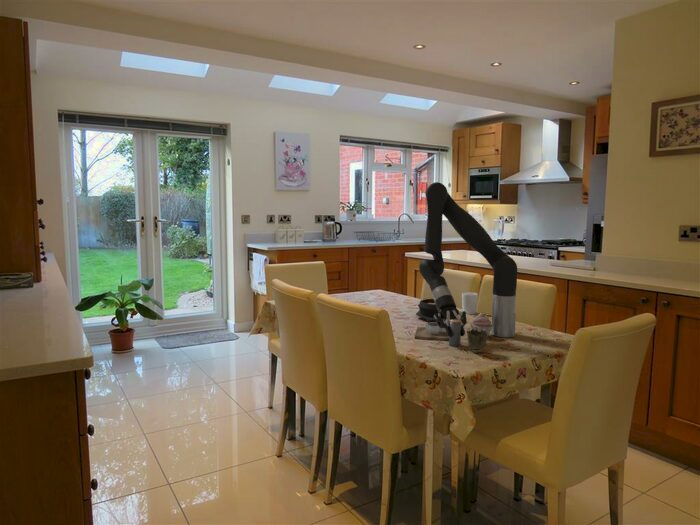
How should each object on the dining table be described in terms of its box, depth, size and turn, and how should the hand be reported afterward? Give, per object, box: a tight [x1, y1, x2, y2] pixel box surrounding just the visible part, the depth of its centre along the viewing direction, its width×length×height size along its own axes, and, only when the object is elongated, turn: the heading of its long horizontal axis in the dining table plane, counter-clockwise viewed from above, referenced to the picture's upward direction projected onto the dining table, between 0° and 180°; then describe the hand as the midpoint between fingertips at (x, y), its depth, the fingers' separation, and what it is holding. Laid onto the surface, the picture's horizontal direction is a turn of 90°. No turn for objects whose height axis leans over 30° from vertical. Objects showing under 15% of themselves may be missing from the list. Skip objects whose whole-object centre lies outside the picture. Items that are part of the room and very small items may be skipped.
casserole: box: [415, 298, 444, 322], centre depth 234 cm, size 25×19×8 cm
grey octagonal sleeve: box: [425, 321, 444, 335], centre depth 204 cm, size 8×8×4 cm
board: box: [414, 326, 449, 342], centre depth 204 cm, size 16×16×1 cm
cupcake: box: [469, 312, 493, 338], centre depth 202 cm, size 9×9×10 cm
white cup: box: [461, 291, 479, 315], centre depth 246 cm, size 8×8×10 cm
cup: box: [466, 328, 488, 354], centre depth 179 cm, size 8×7×8 cm
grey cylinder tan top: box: [448, 319, 462, 348], centre depth 189 cm, size 4×4×10 cm
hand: (457, 335), depth 187 cm, fingers closed on grey cylinder tan top, 4 cm apart
